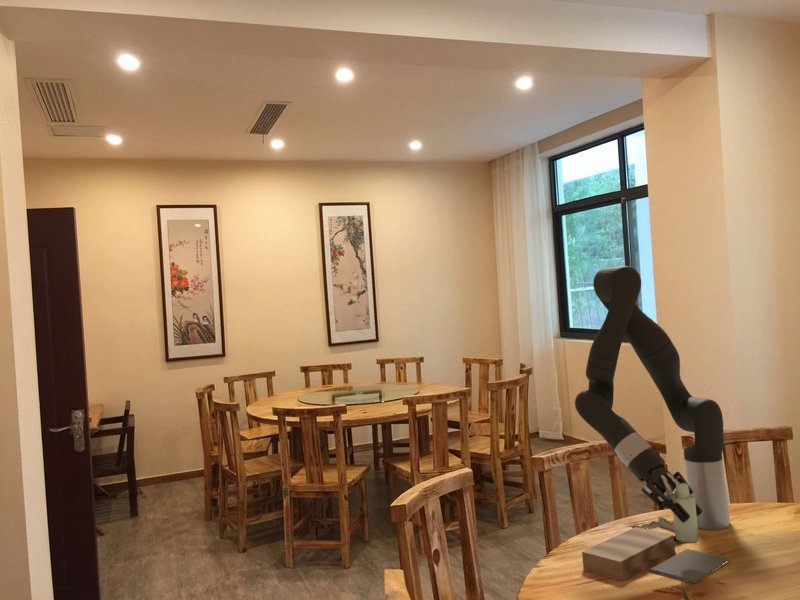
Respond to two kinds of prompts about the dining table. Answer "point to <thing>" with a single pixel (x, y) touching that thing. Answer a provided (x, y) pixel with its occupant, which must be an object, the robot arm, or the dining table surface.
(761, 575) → the dining table surface
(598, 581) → the dining table surface
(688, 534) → the celadon bottle
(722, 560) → the charcoal mat
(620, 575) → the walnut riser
